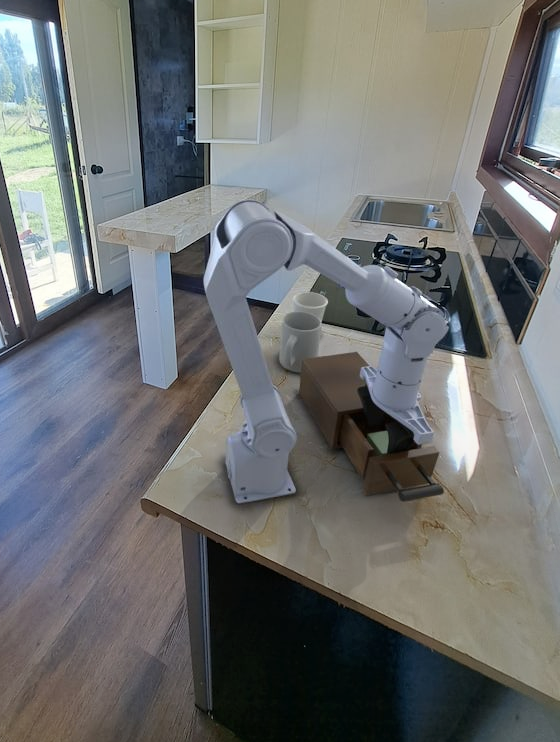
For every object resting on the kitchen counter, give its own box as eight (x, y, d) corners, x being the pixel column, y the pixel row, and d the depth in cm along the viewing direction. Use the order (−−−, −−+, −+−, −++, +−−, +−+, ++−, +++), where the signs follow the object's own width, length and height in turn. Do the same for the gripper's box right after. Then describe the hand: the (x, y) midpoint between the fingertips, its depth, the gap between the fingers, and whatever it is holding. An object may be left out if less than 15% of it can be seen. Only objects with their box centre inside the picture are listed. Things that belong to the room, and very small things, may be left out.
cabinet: (393, 439, 68) (403, 401, 64) (332, 449, 66) (338, 412, 62) (350, 385, 81) (356, 351, 77) (298, 392, 79) (302, 358, 75)
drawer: (450, 510, 55) (463, 477, 52) (383, 523, 53) (392, 491, 50) (378, 419, 71) (384, 390, 68) (325, 427, 69) (329, 399, 66)
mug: (287, 346, 94) (290, 307, 89) (321, 357, 89) (327, 316, 85) (267, 374, 85) (269, 332, 80) (304, 387, 80) (309, 343, 76)
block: (377, 472, 60) (382, 453, 58) (363, 451, 63) (367, 433, 61) (401, 467, 60) (406, 449, 58) (385, 447, 64) (390, 429, 62)
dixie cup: (288, 339, 96) (291, 305, 92) (291, 323, 104) (294, 290, 99) (323, 344, 94) (327, 309, 90) (323, 327, 101) (328, 293, 97)
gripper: (463, 403, 49) (438, 476, 55) (393, 341, 62) (379, 405, 68) (413, 411, 48) (393, 484, 54) (353, 346, 61) (342, 411, 67)
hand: (382, 440), depth 61 cm, fingers open, 5 cm apart
